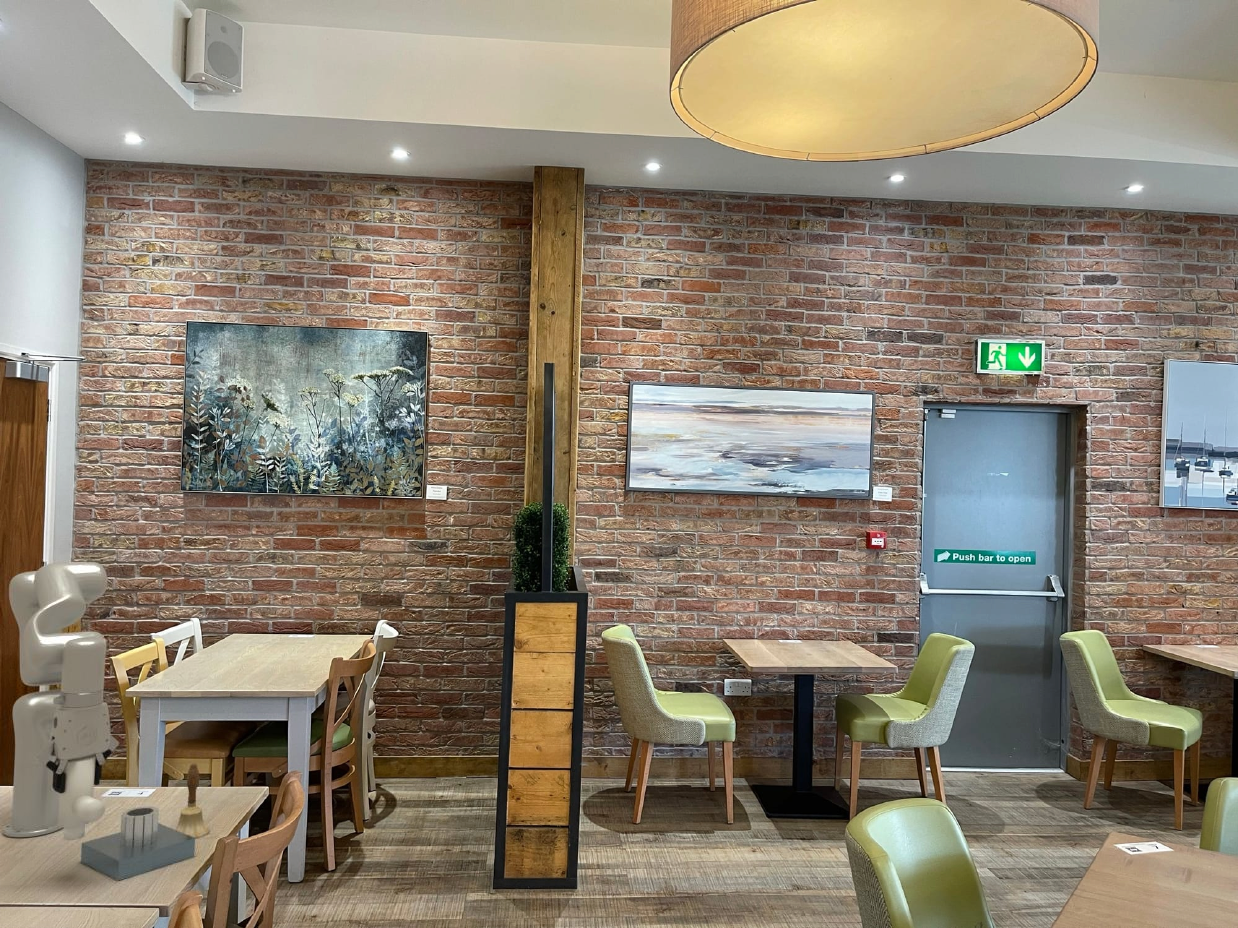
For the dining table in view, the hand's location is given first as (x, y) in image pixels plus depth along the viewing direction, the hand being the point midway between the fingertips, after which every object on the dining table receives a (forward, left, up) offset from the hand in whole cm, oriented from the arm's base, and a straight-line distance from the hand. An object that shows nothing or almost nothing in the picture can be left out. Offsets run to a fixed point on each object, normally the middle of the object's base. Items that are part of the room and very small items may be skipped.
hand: (76, 786), depth 182 cm
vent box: (+1, +13, -18) cm, 22 cm away
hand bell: (-5, +28, -19) cm, 34 cm away
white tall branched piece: (+2, 0, -10) cm, 10 cm away
